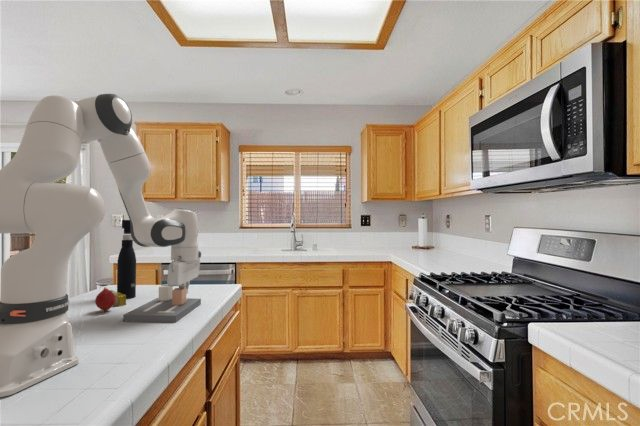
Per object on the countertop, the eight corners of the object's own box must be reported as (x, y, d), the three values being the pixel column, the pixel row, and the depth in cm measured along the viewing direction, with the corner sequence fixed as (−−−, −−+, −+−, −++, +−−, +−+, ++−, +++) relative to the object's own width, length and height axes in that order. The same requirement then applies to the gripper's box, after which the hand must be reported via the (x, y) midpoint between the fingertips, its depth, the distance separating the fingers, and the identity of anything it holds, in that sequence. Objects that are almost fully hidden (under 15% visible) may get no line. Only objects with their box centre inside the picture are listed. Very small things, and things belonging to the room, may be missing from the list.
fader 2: (181, 304, 119) (181, 289, 119) (172, 304, 119) (172, 289, 119) (186, 301, 123) (186, 287, 123) (176, 301, 123) (177, 287, 123)
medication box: (103, 301, 133) (103, 291, 133) (111, 300, 135) (111, 289, 135) (118, 307, 125) (118, 295, 125) (126, 305, 128) (126, 294, 127)
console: (176, 322, 108) (176, 315, 108) (123, 321, 108) (123, 314, 108) (200, 304, 130) (200, 298, 130) (156, 303, 130) (156, 297, 130)
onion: (119, 309, 122) (119, 285, 122) (107, 314, 116) (108, 289, 116) (103, 308, 122) (103, 285, 122) (90, 313, 116) (91, 288, 116)
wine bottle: (119, 296, 141) (120, 219, 141) (137, 295, 143) (138, 220, 143) (115, 299, 135) (116, 220, 135) (133, 298, 137) (135, 220, 137)
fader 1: (167, 300, 125) (167, 286, 125) (158, 300, 125) (158, 286, 125) (172, 298, 129) (172, 284, 129) (163, 297, 129) (163, 284, 129)
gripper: (181, 258, 115) (181, 301, 115) (203, 252, 136) (202, 288, 135) (162, 258, 115) (161, 301, 115) (186, 252, 136) (185, 288, 135)
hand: (184, 294), depth 125 cm, fingers closed
